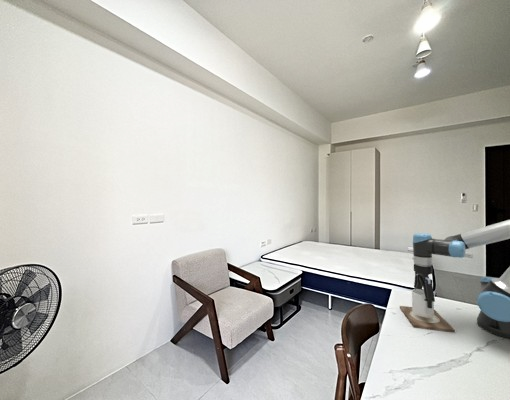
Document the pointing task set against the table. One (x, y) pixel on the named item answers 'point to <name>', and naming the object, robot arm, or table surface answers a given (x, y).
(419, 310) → the mug
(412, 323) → the board
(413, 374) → the table surface
